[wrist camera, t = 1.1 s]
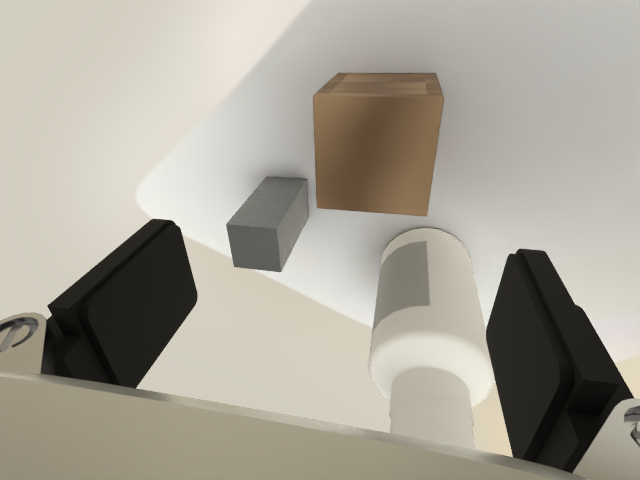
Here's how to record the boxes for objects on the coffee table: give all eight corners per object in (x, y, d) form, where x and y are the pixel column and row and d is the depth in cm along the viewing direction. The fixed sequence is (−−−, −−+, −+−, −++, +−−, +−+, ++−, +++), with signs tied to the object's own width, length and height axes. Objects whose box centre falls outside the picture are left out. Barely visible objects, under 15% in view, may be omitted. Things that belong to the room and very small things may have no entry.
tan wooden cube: (435, 73, 22) (443, 97, 16) (423, 167, 26) (426, 216, 20) (338, 73, 24) (313, 95, 18) (338, 163, 27) (316, 208, 21)
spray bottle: (380, 225, 29) (343, 460, 14) (474, 226, 27) (546, 493, 12) (382, 293, 32) (355, 539, 17) (465, 297, 31) (514, 572, 16)
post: (307, 179, 28) (276, 228, 22) (308, 216, 30) (280, 272, 23) (266, 176, 29) (226, 224, 22) (270, 213, 30) (234, 266, 24)
